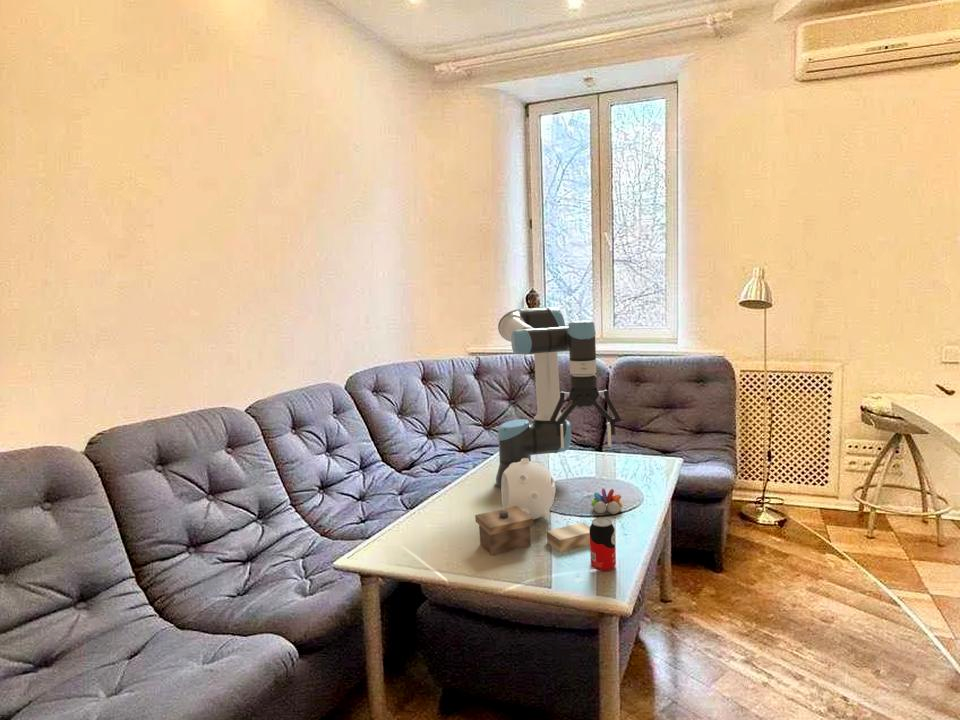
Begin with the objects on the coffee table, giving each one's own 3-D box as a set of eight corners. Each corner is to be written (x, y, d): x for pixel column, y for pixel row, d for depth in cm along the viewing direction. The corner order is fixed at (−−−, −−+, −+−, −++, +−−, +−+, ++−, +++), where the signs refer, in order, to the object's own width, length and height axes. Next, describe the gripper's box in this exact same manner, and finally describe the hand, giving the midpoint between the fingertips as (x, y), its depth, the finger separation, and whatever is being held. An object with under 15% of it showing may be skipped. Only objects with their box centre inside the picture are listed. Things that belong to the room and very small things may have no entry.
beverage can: (600, 574, 148) (598, 528, 147) (586, 564, 154) (584, 520, 152) (620, 568, 151) (619, 523, 149) (606, 558, 156) (604, 515, 155)
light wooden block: (560, 554, 161) (559, 540, 160) (547, 544, 167) (546, 531, 166) (597, 544, 165) (596, 530, 165) (583, 535, 172) (582, 522, 171)
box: (491, 557, 161) (490, 533, 160) (480, 546, 168) (479, 522, 167) (530, 547, 165) (529, 523, 165) (518, 537, 173) (516, 514, 172)
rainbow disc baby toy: (622, 515, 184) (622, 493, 184) (591, 515, 186) (590, 493, 186) (621, 505, 193) (621, 484, 192) (591, 505, 195) (590, 484, 194)
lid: (490, 535, 159) (490, 523, 158) (475, 521, 168) (475, 511, 168) (533, 525, 164) (532, 513, 163) (516, 512, 173) (515, 502, 173)
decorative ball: (565, 528, 177) (562, 465, 175) (509, 535, 174) (505, 471, 172) (547, 505, 197) (544, 448, 194) (496, 511, 194) (493, 453, 192)
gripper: (539, 378, 168) (543, 450, 170) (629, 374, 165) (631, 448, 168) (539, 374, 175) (543, 443, 178) (625, 370, 172) (627, 441, 175)
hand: (585, 446), depth 173 cm, fingers open, 13 cm apart
